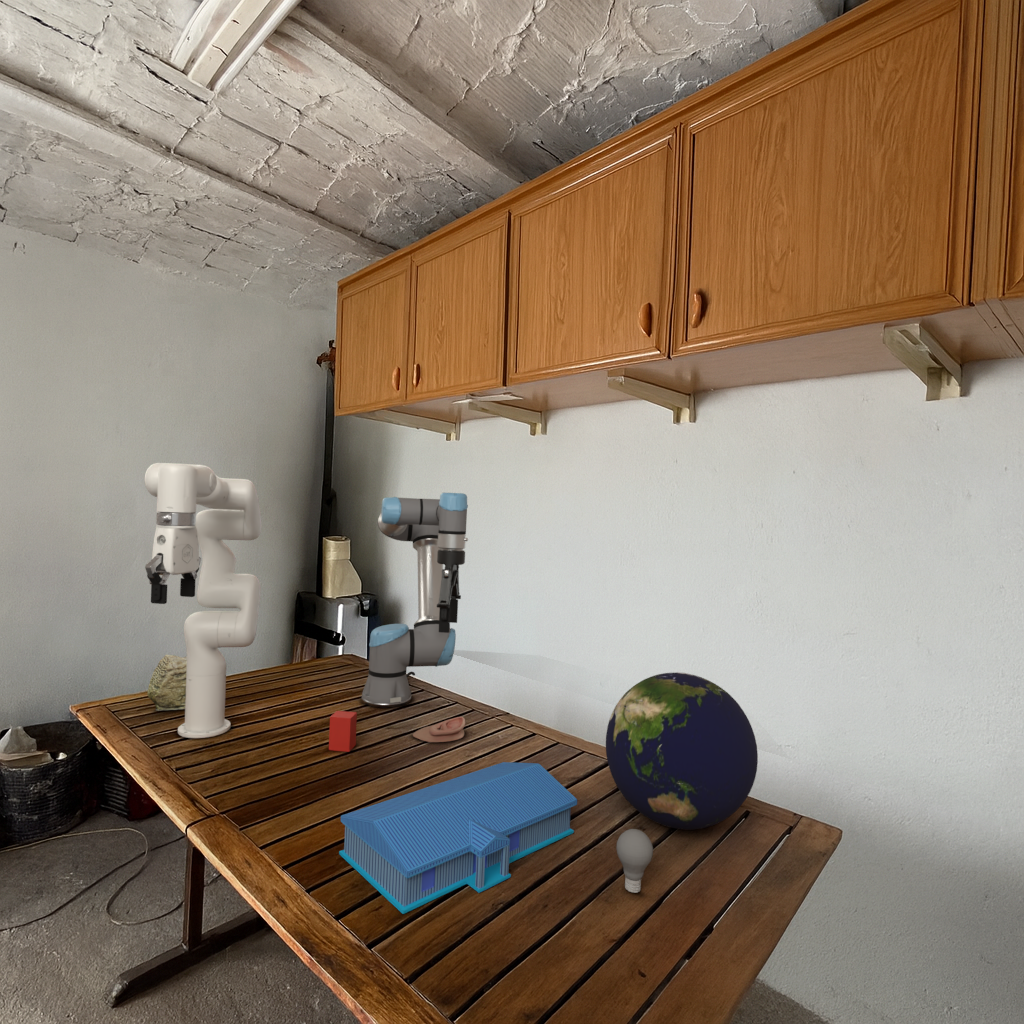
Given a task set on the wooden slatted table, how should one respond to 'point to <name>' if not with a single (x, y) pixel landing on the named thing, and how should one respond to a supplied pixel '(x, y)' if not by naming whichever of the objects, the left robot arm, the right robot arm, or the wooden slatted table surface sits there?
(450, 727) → the anatomical model
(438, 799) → the model building
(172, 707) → the fossil
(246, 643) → the left robot arm
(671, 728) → the globe
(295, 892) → the wooden slatted table surface
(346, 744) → the brick
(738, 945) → the wooden slatted table surface
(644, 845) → the light bulb
